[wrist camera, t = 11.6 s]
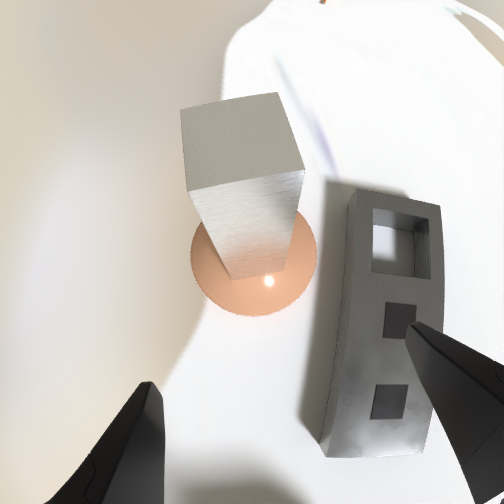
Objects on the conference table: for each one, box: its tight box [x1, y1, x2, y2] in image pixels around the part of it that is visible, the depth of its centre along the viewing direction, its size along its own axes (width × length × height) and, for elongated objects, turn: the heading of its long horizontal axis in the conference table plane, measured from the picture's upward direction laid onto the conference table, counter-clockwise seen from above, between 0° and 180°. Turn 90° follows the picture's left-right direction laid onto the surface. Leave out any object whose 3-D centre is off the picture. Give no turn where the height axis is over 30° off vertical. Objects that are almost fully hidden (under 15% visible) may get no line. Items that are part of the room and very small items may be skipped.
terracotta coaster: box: [191, 211, 317, 317], centre depth 24 cm, size 10×10×1 cm
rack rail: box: [319, 189, 445, 458], centre depth 21 cm, size 20×8×3 cm, turn 171°
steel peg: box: [180, 92, 305, 281], centre depth 17 cm, size 4×4×14 cm
